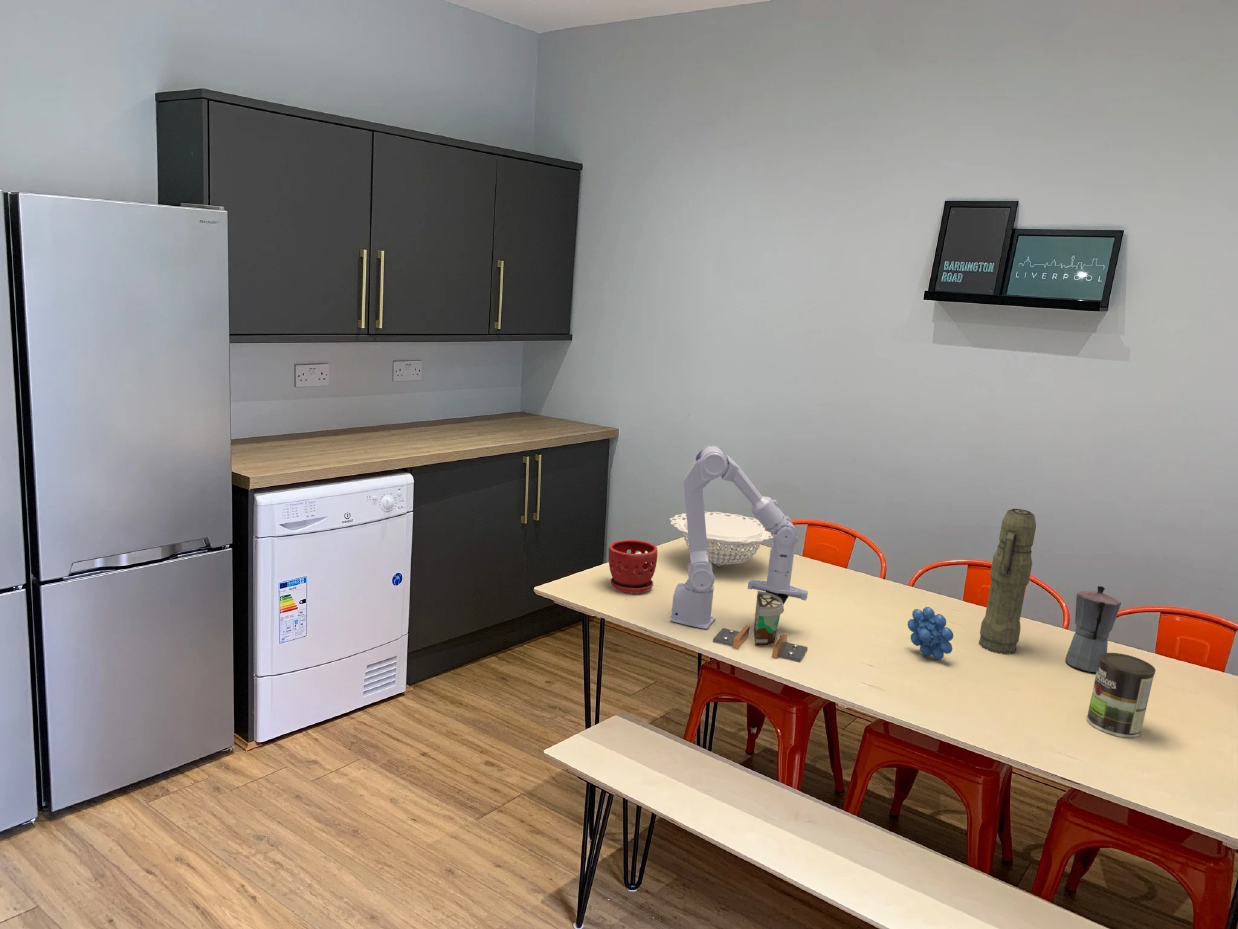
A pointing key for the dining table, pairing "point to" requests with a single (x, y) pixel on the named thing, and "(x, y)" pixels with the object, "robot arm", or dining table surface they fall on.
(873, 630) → the dining table surface
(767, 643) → the food container
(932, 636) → the grapes
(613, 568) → the plant pot
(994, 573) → the thermos
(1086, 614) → the moka pot
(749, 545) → the white lattice basket
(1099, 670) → the coffee can
